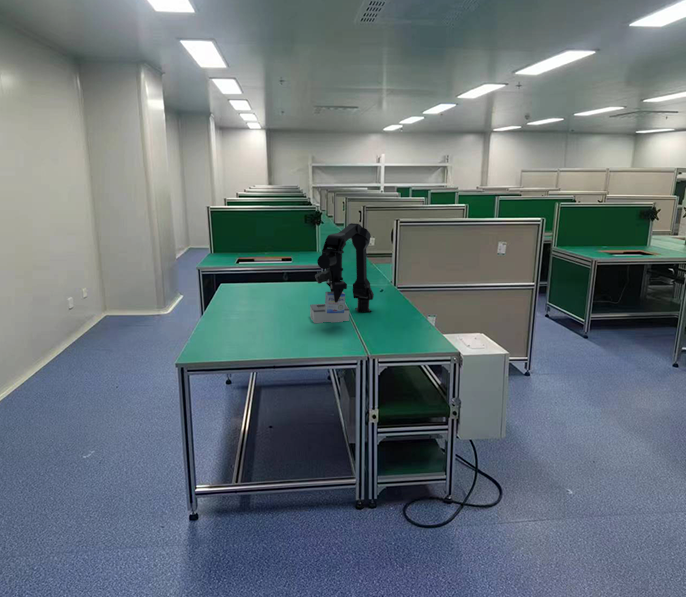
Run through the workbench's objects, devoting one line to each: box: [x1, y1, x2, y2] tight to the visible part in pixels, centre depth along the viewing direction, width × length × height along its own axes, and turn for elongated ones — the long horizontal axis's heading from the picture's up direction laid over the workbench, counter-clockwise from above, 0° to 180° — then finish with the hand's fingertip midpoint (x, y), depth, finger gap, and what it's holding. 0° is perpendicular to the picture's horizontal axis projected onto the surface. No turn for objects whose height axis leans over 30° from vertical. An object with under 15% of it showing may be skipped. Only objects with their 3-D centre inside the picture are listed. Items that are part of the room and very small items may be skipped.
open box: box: [309, 303, 350, 324], centre depth 219 cm, size 10×16×6 cm, turn 103°
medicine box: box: [324, 291, 346, 313], centre depth 206 cm, size 8×4×9 cm, turn 103°
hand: (334, 300), depth 206 cm, fingers closed on medicine box, 4 cm apart
